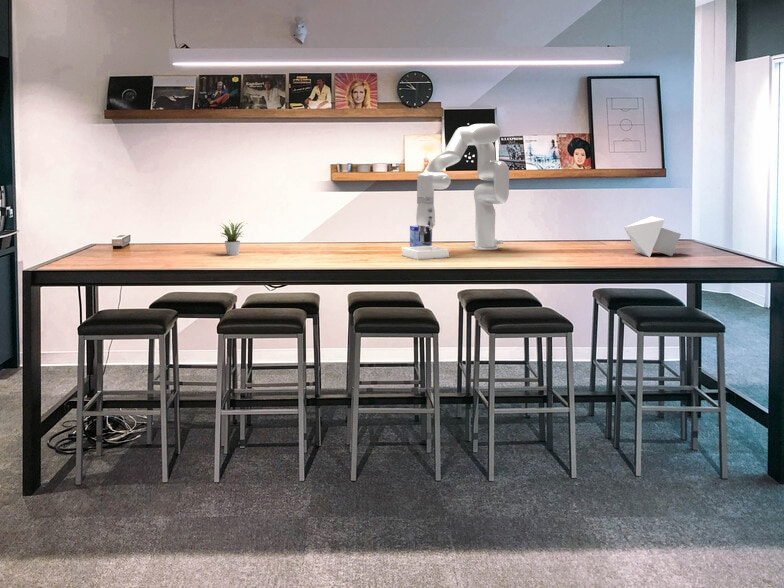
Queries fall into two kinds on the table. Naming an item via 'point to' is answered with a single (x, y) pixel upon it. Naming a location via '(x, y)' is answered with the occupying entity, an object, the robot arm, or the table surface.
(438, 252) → the flat white box
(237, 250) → the house plant
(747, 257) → the table surface
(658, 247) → the pyramid on cube
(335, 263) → the table surface
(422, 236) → the battery cell
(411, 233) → the ink cartridge box
